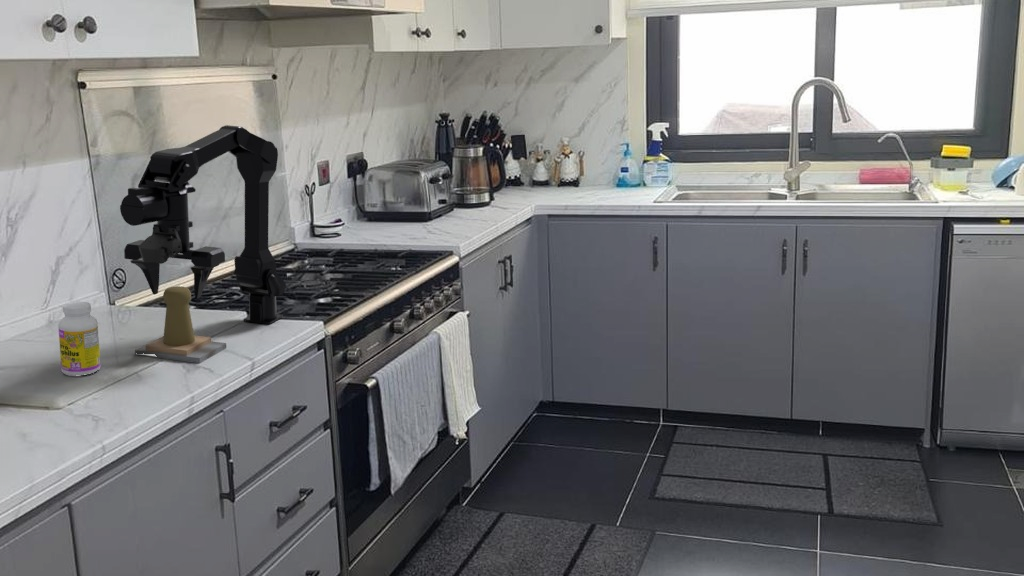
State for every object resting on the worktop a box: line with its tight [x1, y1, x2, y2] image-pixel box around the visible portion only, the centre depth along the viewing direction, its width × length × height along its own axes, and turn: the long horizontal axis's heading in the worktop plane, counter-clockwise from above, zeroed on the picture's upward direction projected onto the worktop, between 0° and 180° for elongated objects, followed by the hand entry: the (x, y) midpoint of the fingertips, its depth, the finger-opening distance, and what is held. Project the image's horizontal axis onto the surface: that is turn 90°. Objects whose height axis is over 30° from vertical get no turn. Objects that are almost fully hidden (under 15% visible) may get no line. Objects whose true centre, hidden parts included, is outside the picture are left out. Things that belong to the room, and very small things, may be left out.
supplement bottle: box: [57, 301, 101, 377], centre depth 180 cm, size 7×7×13 cm
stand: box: [134, 334, 227, 364], centre depth 195 cm, size 10×14×2 cm
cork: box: [162, 286, 195, 346], centre depth 193 cm, size 6×6×11 cm
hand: (176, 296), depth 192 cm, fingers open, 9 cm apart
